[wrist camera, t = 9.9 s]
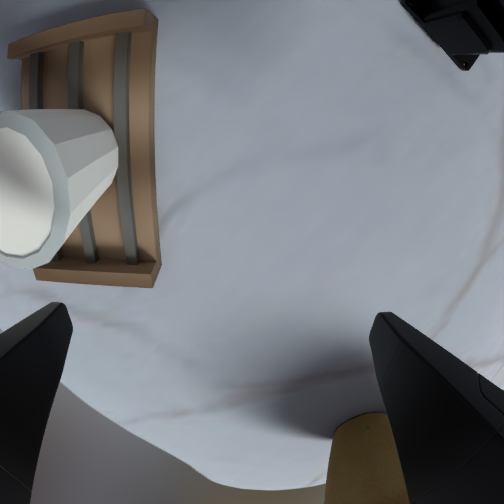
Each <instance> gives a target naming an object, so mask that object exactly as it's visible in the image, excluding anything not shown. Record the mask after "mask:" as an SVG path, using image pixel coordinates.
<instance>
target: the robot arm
mask: <svg viewBox="0 0 504 504" xmlns="http://www.w3.org/2000/svg"><path fill="white" fill-rule="evenodd" d="M408 1H410V2H411V4H412V6H411V5H409V3H408ZM402 4H403V6H404V7H405V8H406V9H407V10H408V11H409V12H410V13H411V14H412V15H413V16H414V17H415V18H416V19H417V20H418V21H419V22H420V23H421V24H422V25H423V27H424V29H425V30H426V31H427V32H428V33H429V34H430V35H431V36H432V37H433V39H434V40H435V41H436V42H437V43H438V44H439V45H440V47H441V48H442V49H443V50H444V51H445V52H446V54H448V55H449V56H450V57H451V58H452V60H453V61H454V62H455V63H456V65H457V66H458V67H459V68H460V69H461V70H463V71H468V70H469V69H470V68H471V67H472V65H473V64H474V62H475V61H476V60H477V58H478V57H479V55H480V54H488V53H504V0H402ZM463 61H464V63H465V66H464V65H463ZM72 332H73V326H72V322H71V319H70V316H69V314H68V311H67V308H66V306H65V304H63V303H59V302H51V303H50V304H48V305H46V306H45V307H43V308H41V309H40V310H38V311H36V312H35V313H33V314H31V315H30V316H28V317H27V318H25V319H23V320H22V321H20V322H19V323H17V324H15V325H14V326H12V327H11V328H9V329H7V330H6V331H4V332H3V333H1V334H0V504H30V499H31V493H32V492H31V491H32V486H33V481H34V476H35V471H36V466H37V462H38V457H39V453H40V449H41V444H42V440H43V436H44V433H45V429H46V425H47V421H48V418H49V414H50V411H51V408H52V404H53V401H54V398H55V395H56V391H57V388H58V385H59V382H60V379H61V376H62V372H63V368H64V364H65V360H66V356H67V352H68V348H69V344H70V340H71V336H72ZM369 342H370V347H371V351H372V356H373V361H374V366H375V371H376V376H377V381H378V385H379V389H380V392H381V396H382V399H383V402H384V406H385V409H386V412H387V416H388V419H389V423H390V426H391V430H392V434H393V437H394V441H395V445H396V449H397V452H398V456H399V460H400V464H401V468H402V472H403V476H404V481H405V485H406V489H407V494H408V498H409V503H410V504H504V390H502V389H500V388H499V387H497V386H496V385H495V384H493V383H492V382H490V381H489V380H487V379H486V378H485V377H483V376H482V375H481V374H478V373H477V372H476V371H475V370H474V369H472V368H471V367H469V366H468V365H467V364H465V363H464V362H462V361H461V360H460V359H458V358H457V357H455V356H454V355H453V354H451V353H450V352H448V351H447V350H446V349H444V348H443V347H441V346H440V345H438V344H437V343H436V342H434V341H433V340H431V339H430V338H428V337H427V336H426V335H424V334H423V333H421V332H420V331H418V330H417V329H415V328H414V327H413V326H411V325H410V324H408V323H407V322H405V321H404V320H402V319H401V318H399V317H398V316H397V315H395V314H394V313H392V312H379V313H378V314H377V315H376V317H375V320H374V323H373V326H372V329H371V331H370V335H369Z"/></svg>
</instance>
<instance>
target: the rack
mask: <svg viewBox="0 0 504 504" xmlns="http://www.w3.org/2000/svg"><path fill="white" fill-rule="evenodd" d="M157 29H158V19H157V18H156V17H155V16H153V15H152V14H151V13H150V12H149V11H148V10H146V9H145V8H143V9H136V10H129V11H123V12H118V13H112V14H107V15H102V16H97V17H93V18H88V19H84V20H80V21H76V22H73V23H69V24H65V25H62V26H58V27H55V28H52V29H49V30H45V31H42V32H39V33H36V34H34V35H31V36H28V37H25V38H23V39H20V40H17V41H15V42H12V43H10V44H9V46H8V59H22V77H21V107H22V110H30V109H85V110H87V111H89V112H92V113H94V114H97V115H99V116H100V117H101V118H102V119H103V120H104V121H105V122H106V123H107V124H108V125H109V127H110V128H111V129H112V131H113V134H114V137H115V139H116V142H117V145H118V168H117V171H116V173H115V176H114V179H113V181H112V184H111V185H110V186H109V187H108V188H107V189H106V191H105V192H104V193H103V194H102V195H101V196H100V198H99V199H98V200H97V201H96V202H95V204H94V205H93V206H92V207H91V209H90V210H89V211H88V212H87V214H86V215H85V216H84V217H83V219H82V220H81V221H80V222H79V224H78V225H77V226H76V228H75V229H74V230H73V232H72V233H71V234H70V236H69V237H68V238H67V240H66V241H65V242H64V244H63V245H62V246H61V248H60V249H59V250H58V251H57V253H56V254H55V255H54V257H53V258H52V259H51V261H50V262H49V263H46V264H44V265H41V266H39V267H36V268H34V269H33V271H34V274H35V277H36V280H41V281H53V282H65V283H78V284H92V285H107V286H123V287H140V288H153V286H154V283H155V281H156V278H157V276H158V273H159V271H160V268H161V266H162V263H161V252H160V241H159V229H158V215H157V199H156V179H155V148H154V92H155V62H156V43H157Z"/></svg>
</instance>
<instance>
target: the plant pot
mask: <svg viewBox="0 0 504 504" xmlns="http://www.w3.org/2000/svg"><path fill="white" fill-rule="evenodd" d="M324 504H410V503H409V498H408V494H407V489H406V485H405V481H404V476H403V472H402V468H401V464H400V460H399V456H398V452H397V449H396V445H395V441H394V437H393V434H392V430H391V426H390V423H389V419H388V416H387V415H386V414H385V413H379V412H377V413H369V414H364V415H361V416H358V417H356V418H353V419H351V420H349V421H347V422H345V423H344V424H342V425H341V426H340V427H339V428H338V429H337V430H336V431H335V433H334V436H333V441H332V446H331V452H330V458H329V464H328V472H327V480H326V489H325V502H324Z"/></svg>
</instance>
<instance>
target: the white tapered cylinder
mask: <svg viewBox="0 0 504 504" xmlns="http://www.w3.org/2000/svg"><path fill="white" fill-rule="evenodd" d="M117 168H118V145H117V142H116V139H115V137H114V134H113V131H112V129H111V128H110V127H109V125H108V124H107V123H106V122H105V121H104V120H103V119H102V118H101V117H100V116H99V115H97V114H94V113H92V112H89V111H87V110H85V109H30V110H10V111H4V112H0V262H2V263H4V264H5V265H7V266H9V267H14V268H20V269H27V270H31V269H34V268H36V267H39V266H41V265H44V264H46V263H49V262H50V261H51V259H52V258H53V257H54V255H55V254H56V253H57V251H58V250H59V249H60V248H61V246H62V245H63V244H64V242H65V241H66V240H67V238H68V237H69V236H70V234H71V233H72V232H73V230H74V229H75V228H76V226H77V225H78V224H79V222H80V221H81V220H82V219H83V217H84V216H85V215H86V214H87V212H88V211H89V210H90V209H91V207H92V206H93V205H94V204H95V202H96V201H97V200H98V199H99V198H100V196H101V195H102V194H103V193H104V192H105V191H106V189H107V188H108V187H109V186H110V185H111V184H112V181H113V179H114V176H115V173H116V171H117Z"/></svg>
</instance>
